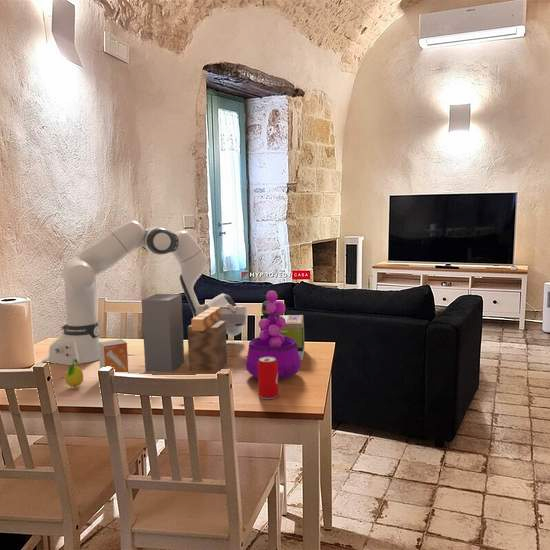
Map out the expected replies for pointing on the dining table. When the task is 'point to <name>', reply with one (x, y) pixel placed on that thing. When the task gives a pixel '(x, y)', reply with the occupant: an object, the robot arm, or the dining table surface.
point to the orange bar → (206, 318)
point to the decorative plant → (273, 342)
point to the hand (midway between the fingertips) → (216, 306)
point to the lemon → (74, 375)
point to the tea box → (294, 331)
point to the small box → (114, 355)
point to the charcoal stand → (163, 332)
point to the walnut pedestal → (207, 347)
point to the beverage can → (267, 377)
